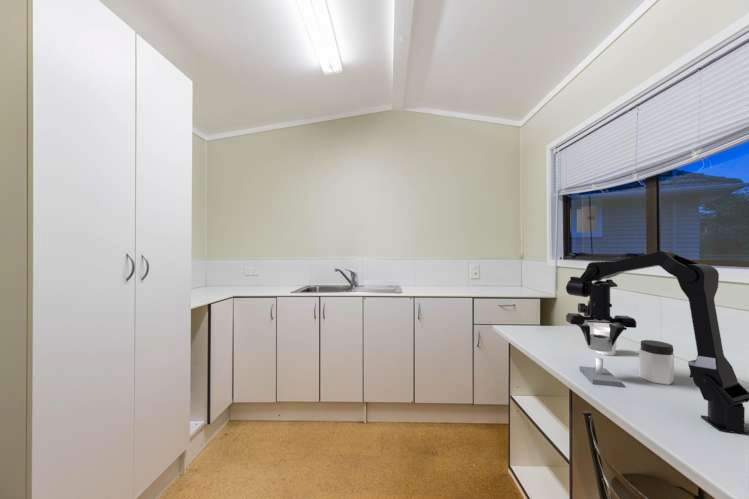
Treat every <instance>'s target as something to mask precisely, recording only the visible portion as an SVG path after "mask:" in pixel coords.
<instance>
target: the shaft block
mask: <svg viewBox="0 0 749 499" xmlns="http://www.w3.org/2000/svg"><path fill="white" fill-rule="evenodd" d="M578 368H579V372H580V373H581V374H582V375H583V376H584V377H585V378H586V379H587V381H589V382H590V383H591V385H597V386H606V387H607V386H608V387H609V386H610V387H618V388H622V387H623V386H622V384H623V382H622V381H621V380H620V379H619V378H617V376H615V375H614V374H612V373H611V372H610V371H609V370H608V369H606V368H605V367H604V359H603V358H601V357H596V358H595V367H592V366H583V365H582V366H581V365H580V366H579V367H578Z"/></svg>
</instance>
